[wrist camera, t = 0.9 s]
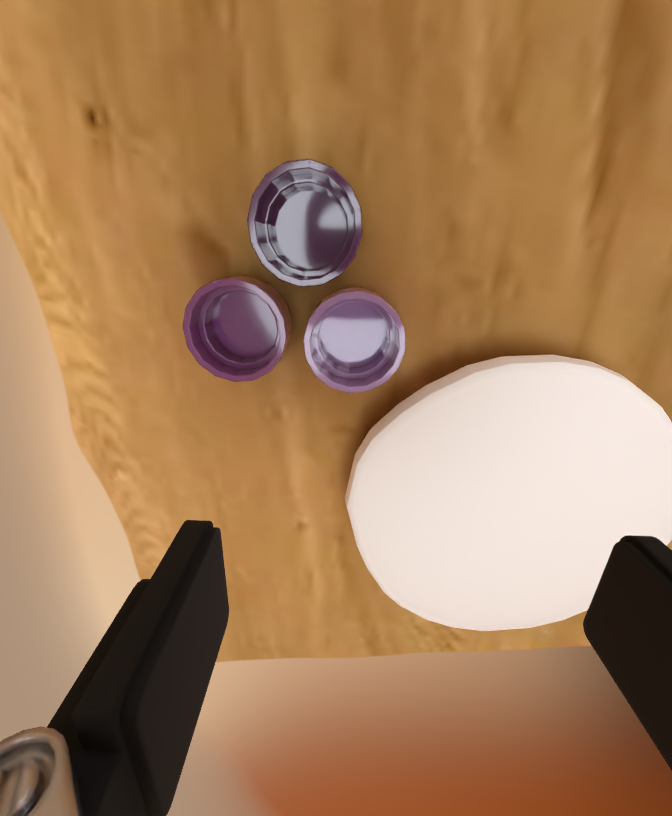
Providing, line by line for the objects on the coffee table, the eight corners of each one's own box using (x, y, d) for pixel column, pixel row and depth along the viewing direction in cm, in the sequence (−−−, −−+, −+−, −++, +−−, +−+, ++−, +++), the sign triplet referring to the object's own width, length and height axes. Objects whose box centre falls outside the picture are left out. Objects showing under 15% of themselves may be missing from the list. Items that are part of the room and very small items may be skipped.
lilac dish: (303, 291, 28) (297, 296, 24) (396, 283, 27) (404, 287, 24) (313, 379, 30) (310, 396, 27) (398, 372, 30) (406, 388, 27)
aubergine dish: (253, 178, 25) (238, 166, 22) (355, 167, 25) (358, 153, 21) (269, 286, 28) (258, 290, 24) (362, 277, 27) (365, 281, 24)
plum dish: (193, 280, 28) (171, 284, 24) (285, 271, 27) (277, 274, 24) (213, 369, 30) (196, 385, 27) (298, 362, 30) (292, 377, 26)
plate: (760, 538, 30) (484, 681, 37) (687, 486, 36) (461, 619, 43) (612, 276, 20) (274, 544, 27) (544, 263, 26) (280, 487, 33)
